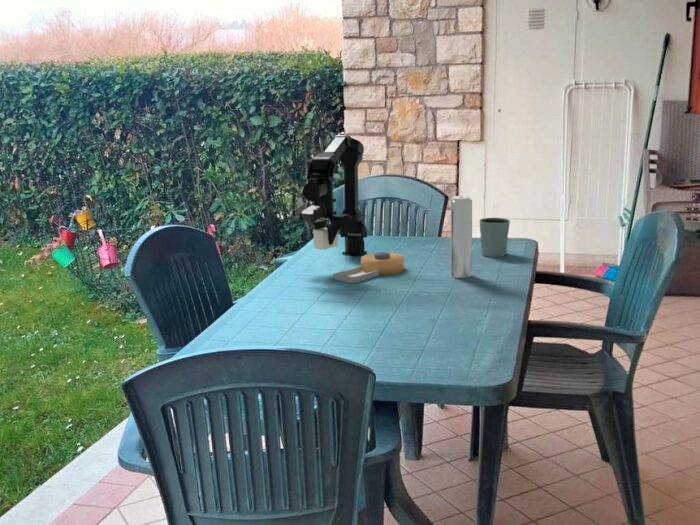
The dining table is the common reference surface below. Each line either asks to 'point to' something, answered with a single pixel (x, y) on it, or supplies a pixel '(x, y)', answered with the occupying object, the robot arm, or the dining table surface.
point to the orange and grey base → (373, 267)
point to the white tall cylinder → (461, 237)
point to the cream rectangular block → (323, 239)
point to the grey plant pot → (494, 236)
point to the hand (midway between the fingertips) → (326, 243)
